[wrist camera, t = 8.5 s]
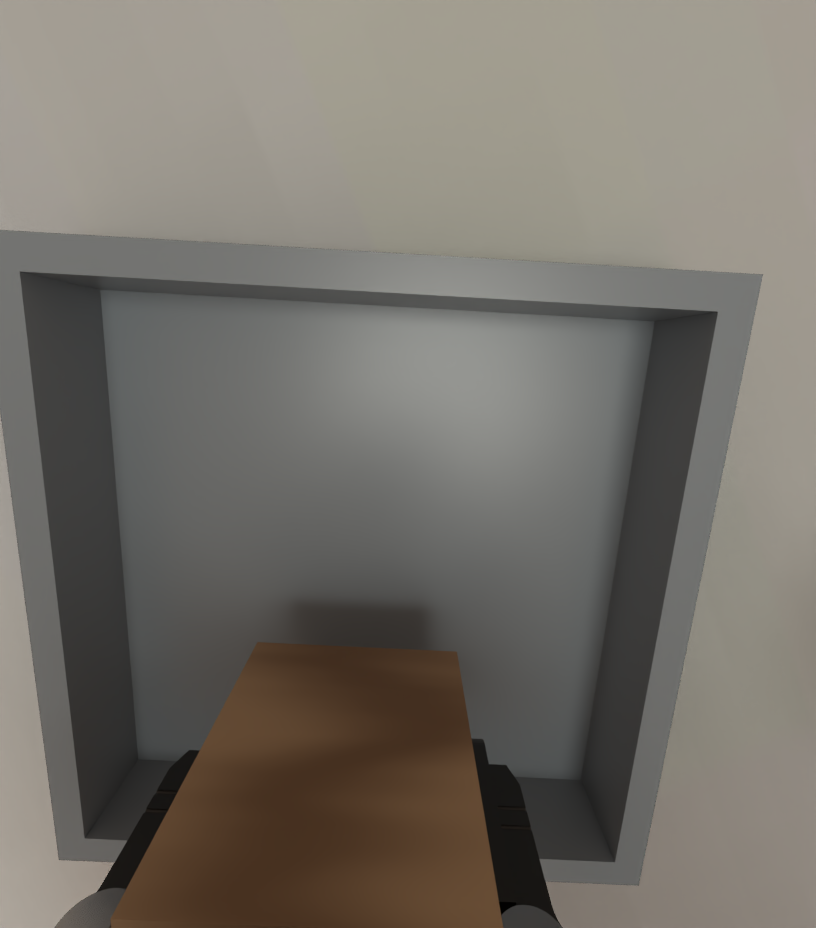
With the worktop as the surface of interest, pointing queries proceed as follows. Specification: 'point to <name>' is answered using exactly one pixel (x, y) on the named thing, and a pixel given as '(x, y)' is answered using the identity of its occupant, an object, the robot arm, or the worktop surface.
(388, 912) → the walnut block
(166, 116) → the worktop surface
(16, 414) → the tray
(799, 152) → the worktop surface
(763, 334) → the worktop surface
